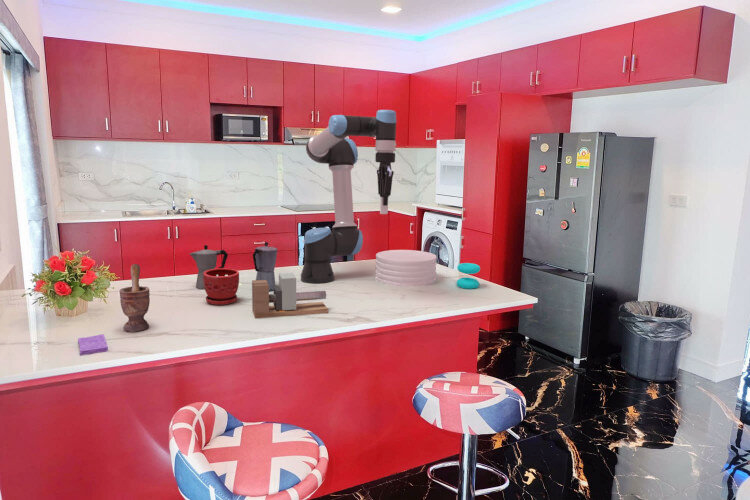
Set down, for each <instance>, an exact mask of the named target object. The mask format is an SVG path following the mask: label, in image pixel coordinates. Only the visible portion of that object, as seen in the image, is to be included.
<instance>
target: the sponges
mask: <svg viewBox="0 0 750 500" xmlns="http://www.w3.org/2000/svg"><path fill="white" fill-rule="evenodd" d="M77 341H78V347H79V354H80V356H86V355H93V354H98V353H105V352H108V351H109V346H108V343H107V339H106V337H105V334H103V333H102V334H97V335H92V336H87V337H79V338H77Z"/></svg>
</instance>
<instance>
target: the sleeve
mask: <svg viewBox="0 0 750 500" xmlns="http://www.w3.org/2000/svg"><path fill="white" fill-rule="evenodd" d="M278 286H279V287H280V289H281V290H282V310H295V309H296V304H297V301H296V293H297V277H296V276H295V275H294V273H293V272H290V273H289V272H287V273H278Z"/></svg>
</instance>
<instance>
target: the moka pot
mask: <svg viewBox="0 0 750 500" xmlns="http://www.w3.org/2000/svg"><path fill="white" fill-rule="evenodd" d="M278 249H279V248H276V247H274V246H269V242H267V241H266V242H264V245H262V246H258V247H256V248H254V252H253V253H252V258H253V260H252V261H253V265H254V269H255V272H256V278H255V280H266V281H267V283H268V284H269V292H271V291H274V286H276V279H275V278H276V277H275V267H276V262H277V257H278V255H277V254H278Z"/></svg>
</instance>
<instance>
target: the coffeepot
mask: <svg viewBox="0 0 750 500" xmlns="http://www.w3.org/2000/svg"><path fill="white" fill-rule="evenodd" d="M208 247H209V245H207V244H205V245H204V246H203V248H204V249H201V250H197V251H193V252H190V253H189V256H191V258H192V259H193V260H194V261H195V263H196V264H195V265H196V268H197V269H198V272H197V276H196V277H197V278H196V282H195V288H197V289H199V290H205V288H204V281H203V273H204V272H205V271H207V270H210V269H216V267H217V261H218V256H221V255H223V257H222V261H221V265H220V266H218V267H217V268H225V266H226V263H227V259H228V257H229V254H228V252H227V251H226V250H224V249H217V250H213V249H208ZM216 276H218V275H216ZM209 284H211V283H209Z"/></svg>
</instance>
